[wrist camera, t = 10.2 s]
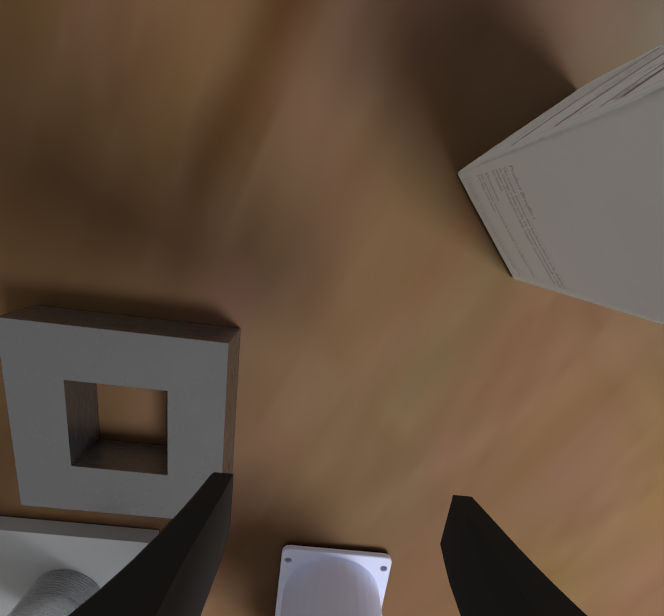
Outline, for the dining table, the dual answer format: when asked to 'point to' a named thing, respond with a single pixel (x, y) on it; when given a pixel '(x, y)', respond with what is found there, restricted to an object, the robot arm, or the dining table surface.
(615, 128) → the supplement box
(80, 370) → the housing
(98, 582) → the mat
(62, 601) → the white gold-topped cylinder
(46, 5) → the dining table surface
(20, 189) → the dining table surface
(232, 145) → the dining table surface
